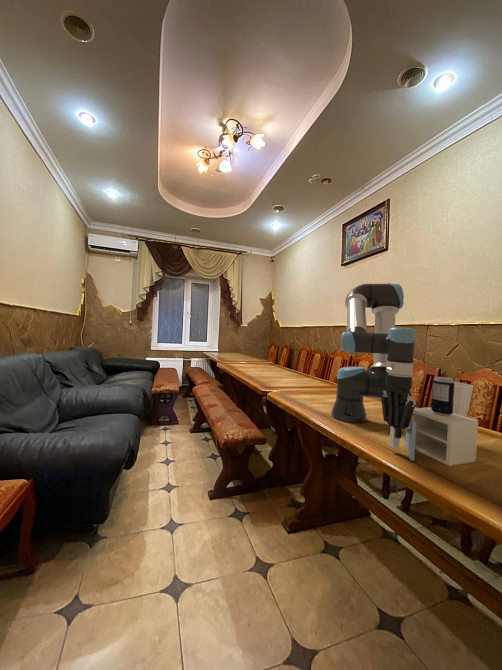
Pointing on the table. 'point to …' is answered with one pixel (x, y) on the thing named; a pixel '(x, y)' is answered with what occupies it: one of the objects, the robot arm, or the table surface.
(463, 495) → the table surface
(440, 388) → the beverage can
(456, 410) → the cup
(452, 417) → the cabinet
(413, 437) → the door
